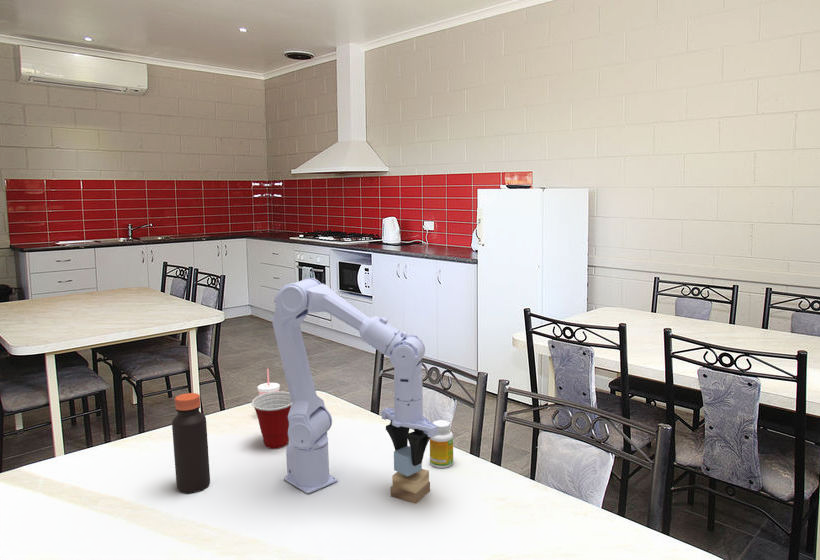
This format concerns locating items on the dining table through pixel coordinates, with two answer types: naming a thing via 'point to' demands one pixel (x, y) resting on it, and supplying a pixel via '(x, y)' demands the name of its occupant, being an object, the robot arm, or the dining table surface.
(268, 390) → the beverage cup
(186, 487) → the vinegar
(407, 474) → the slate blue cube
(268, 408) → the plastic cup
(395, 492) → the walnut slab
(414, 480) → the oak slab
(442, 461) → the supplement bottle
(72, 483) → the dining table surface
